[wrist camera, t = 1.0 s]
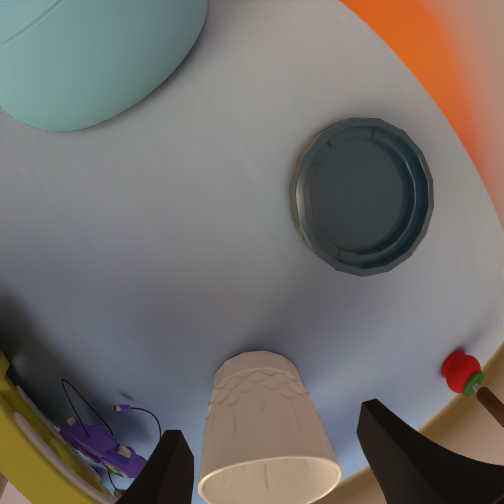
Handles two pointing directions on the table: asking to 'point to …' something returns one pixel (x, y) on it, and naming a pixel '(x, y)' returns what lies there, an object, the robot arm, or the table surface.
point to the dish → (362, 196)
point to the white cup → (264, 436)
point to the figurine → (118, 493)
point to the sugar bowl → (89, 56)
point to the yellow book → (41, 454)
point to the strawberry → (471, 382)
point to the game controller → (103, 444)
